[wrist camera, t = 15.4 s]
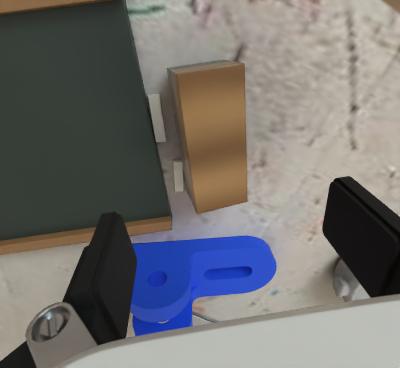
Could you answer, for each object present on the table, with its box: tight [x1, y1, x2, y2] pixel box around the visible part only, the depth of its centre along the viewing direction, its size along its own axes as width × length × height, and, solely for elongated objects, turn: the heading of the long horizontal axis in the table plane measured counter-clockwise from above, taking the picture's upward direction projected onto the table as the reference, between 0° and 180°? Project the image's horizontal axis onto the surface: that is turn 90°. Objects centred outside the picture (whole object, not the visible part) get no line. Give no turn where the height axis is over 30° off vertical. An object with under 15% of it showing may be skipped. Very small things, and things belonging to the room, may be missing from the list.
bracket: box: [130, 236, 276, 336], centre depth 30 cm, size 18×8×9 cm, turn 91°
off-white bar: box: [173, 160, 184, 192], centre depth 27 cm, size 4×1×1 cm, turn 0°
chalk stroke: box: [148, 94, 166, 143], centre depth 24 cm, size 4×1×1 cm, turn 4°
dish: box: [333, 259, 371, 302], centre depth 35 cm, size 14×14×5 cm
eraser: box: [167, 60, 248, 214], centre depth 23 cm, size 12×5×4 cm, turn 6°
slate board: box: [0, 0, 172, 255], centre depth 23 cm, size 22×24×2 cm
